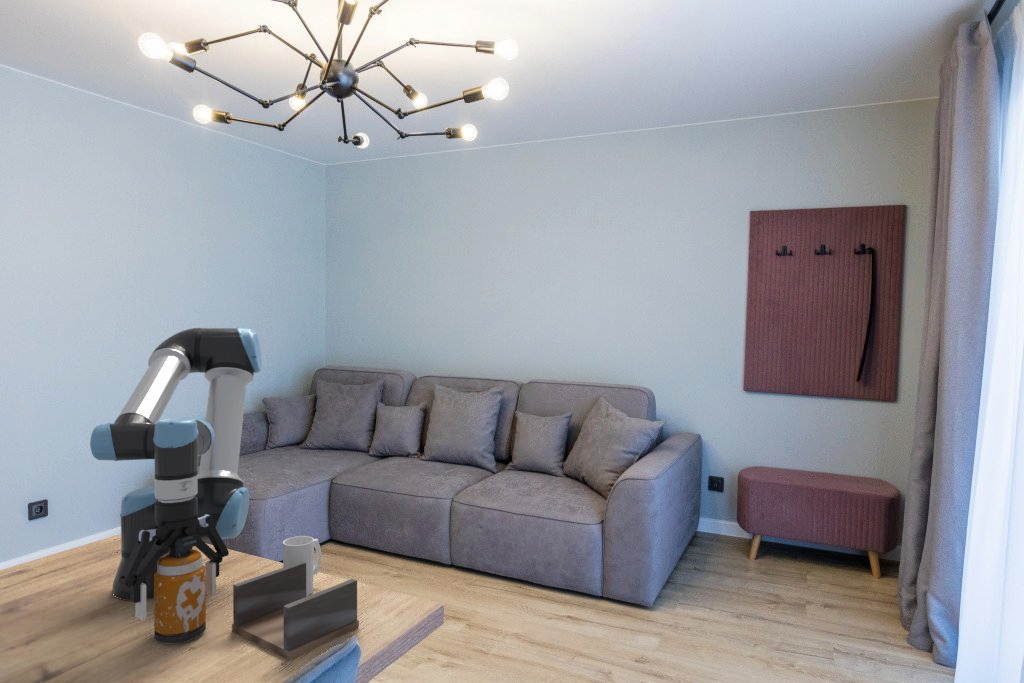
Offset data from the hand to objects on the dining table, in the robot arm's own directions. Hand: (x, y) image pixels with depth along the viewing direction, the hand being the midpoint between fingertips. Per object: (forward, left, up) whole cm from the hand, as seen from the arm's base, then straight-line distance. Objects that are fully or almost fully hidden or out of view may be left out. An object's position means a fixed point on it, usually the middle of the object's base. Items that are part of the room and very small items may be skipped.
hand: (177, 605), depth 127 cm
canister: (0, 0, -6) cm, 6 cm away
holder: (+17, +15, -6) cm, 23 cm away
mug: (+2, +28, -6) cm, 29 cm away
